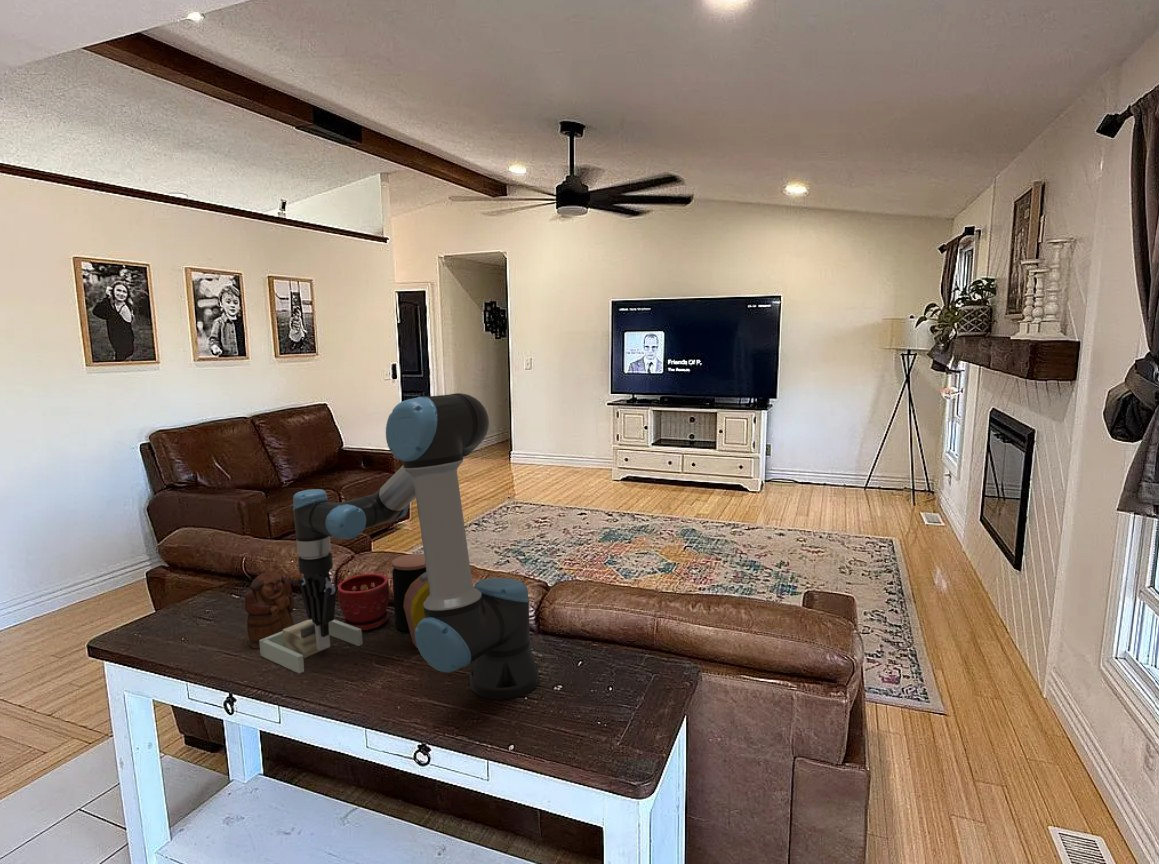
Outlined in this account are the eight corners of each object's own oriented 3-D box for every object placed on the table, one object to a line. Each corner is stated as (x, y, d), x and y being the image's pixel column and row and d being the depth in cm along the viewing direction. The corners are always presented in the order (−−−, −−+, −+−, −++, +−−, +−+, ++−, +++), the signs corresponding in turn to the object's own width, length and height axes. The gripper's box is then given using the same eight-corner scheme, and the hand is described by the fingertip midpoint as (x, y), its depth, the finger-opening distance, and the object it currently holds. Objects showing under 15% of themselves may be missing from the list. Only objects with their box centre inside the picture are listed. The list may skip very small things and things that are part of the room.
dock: (362, 644, 166) (361, 629, 165) (299, 673, 151) (298, 657, 151) (323, 629, 175) (322, 615, 174) (260, 655, 161) (259, 640, 160)
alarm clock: (460, 629, 174) (457, 562, 171) (473, 640, 167) (470, 570, 164) (404, 643, 166) (400, 573, 163) (415, 656, 159) (411, 583, 156)
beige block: (330, 646, 165) (328, 620, 164) (305, 657, 159) (302, 630, 158) (309, 638, 170) (307, 612, 169) (283, 648, 164) (281, 621, 163)
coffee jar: (426, 634, 170) (422, 567, 168) (388, 631, 173) (384, 565, 170) (442, 617, 181) (439, 554, 178) (406, 615, 183) (403, 552, 180)
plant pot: (351, 614, 185) (348, 573, 183) (397, 614, 184) (394, 572, 182) (331, 634, 172) (328, 590, 170) (381, 634, 171) (378, 590, 169)
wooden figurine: (265, 652, 162) (259, 582, 160) (246, 648, 165) (239, 579, 162) (301, 632, 173) (295, 566, 171) (282, 629, 176) (276, 564, 173)
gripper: (345, 554, 157) (352, 647, 160) (313, 546, 164) (321, 636, 167) (317, 563, 151) (325, 660, 154) (285, 554, 158) (293, 647, 161)
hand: (323, 647), depth 160 cm, fingers closed
